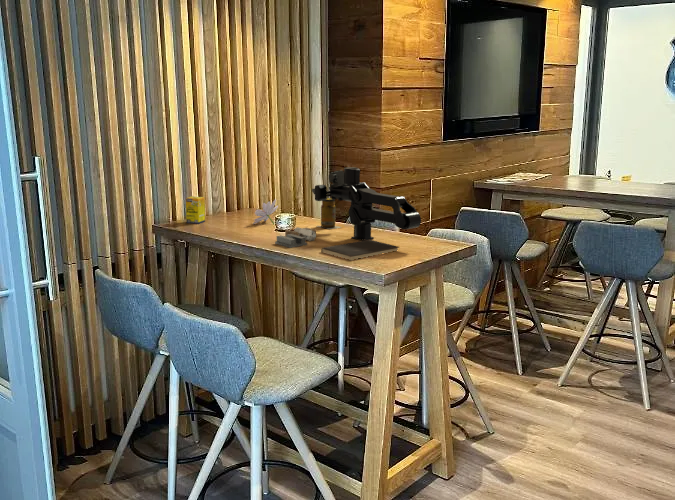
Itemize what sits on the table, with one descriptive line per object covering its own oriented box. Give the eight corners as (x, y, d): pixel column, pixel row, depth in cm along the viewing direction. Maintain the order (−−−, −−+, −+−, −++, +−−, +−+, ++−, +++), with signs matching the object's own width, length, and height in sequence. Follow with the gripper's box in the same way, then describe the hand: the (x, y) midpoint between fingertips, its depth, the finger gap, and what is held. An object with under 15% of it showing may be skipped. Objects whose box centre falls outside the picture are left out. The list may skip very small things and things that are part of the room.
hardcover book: (398, 252, 244) (399, 246, 243) (351, 262, 229) (351, 255, 229) (368, 245, 256) (368, 239, 255) (321, 253, 241) (321, 247, 240)
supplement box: (186, 223, 291) (185, 198, 289) (193, 220, 297) (192, 196, 294) (198, 224, 290) (197, 198, 287) (205, 221, 295) (204, 196, 293)
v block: (306, 244, 252) (306, 237, 252) (289, 247, 247) (289, 240, 246) (292, 240, 259) (292, 233, 258) (275, 243, 254) (275, 236, 253)
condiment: (329, 224, 292) (329, 197, 289) (342, 227, 286) (342, 199, 283) (316, 226, 288) (316, 198, 285) (328, 229, 281) (328, 201, 278)
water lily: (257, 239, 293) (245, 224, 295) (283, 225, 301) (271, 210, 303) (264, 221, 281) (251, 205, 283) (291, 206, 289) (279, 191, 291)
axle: (316, 240, 261) (315, 230, 260) (307, 242, 258) (307, 231, 257) (301, 236, 267) (301, 226, 266) (293, 238, 265) (293, 228, 264)
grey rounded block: (315, 237, 266) (316, 229, 265) (294, 240, 259) (294, 233, 258) (306, 234, 270) (306, 227, 269) (285, 238, 263) (285, 230, 263)
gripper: (363, 171, 272) (338, 168, 283) (328, 174, 260) (303, 171, 271) (363, 198, 274) (337, 194, 286) (328, 203, 262) (303, 198, 274)
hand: (320, 189), depth 279 cm, fingers open, 9 cm apart
